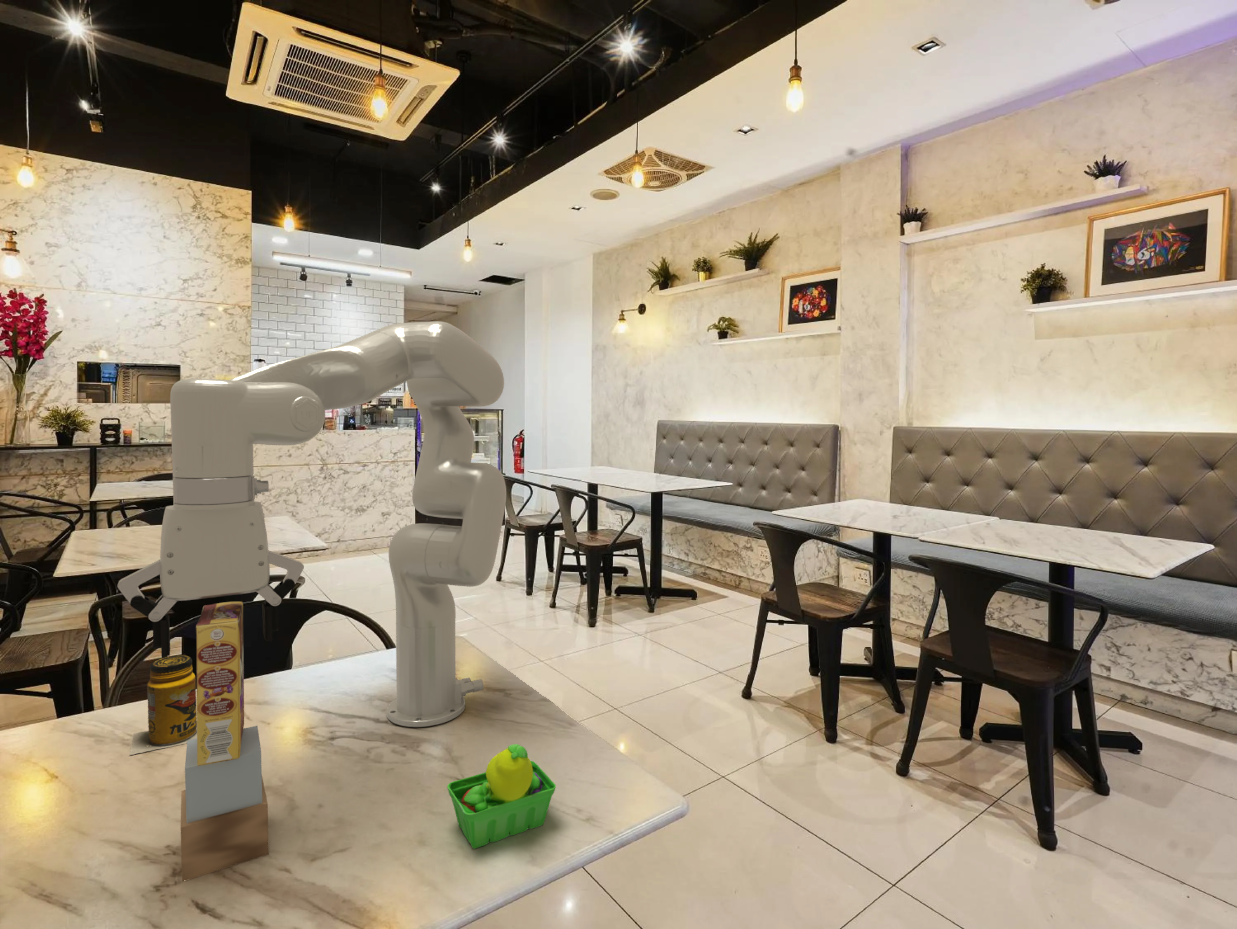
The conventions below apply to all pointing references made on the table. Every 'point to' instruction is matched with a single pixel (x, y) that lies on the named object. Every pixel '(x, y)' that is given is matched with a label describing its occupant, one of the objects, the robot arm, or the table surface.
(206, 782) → the slate block
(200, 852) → the walnut block
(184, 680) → the condiment
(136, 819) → the table surface
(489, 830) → the fruit basket
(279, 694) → the table surface
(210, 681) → the candy box
